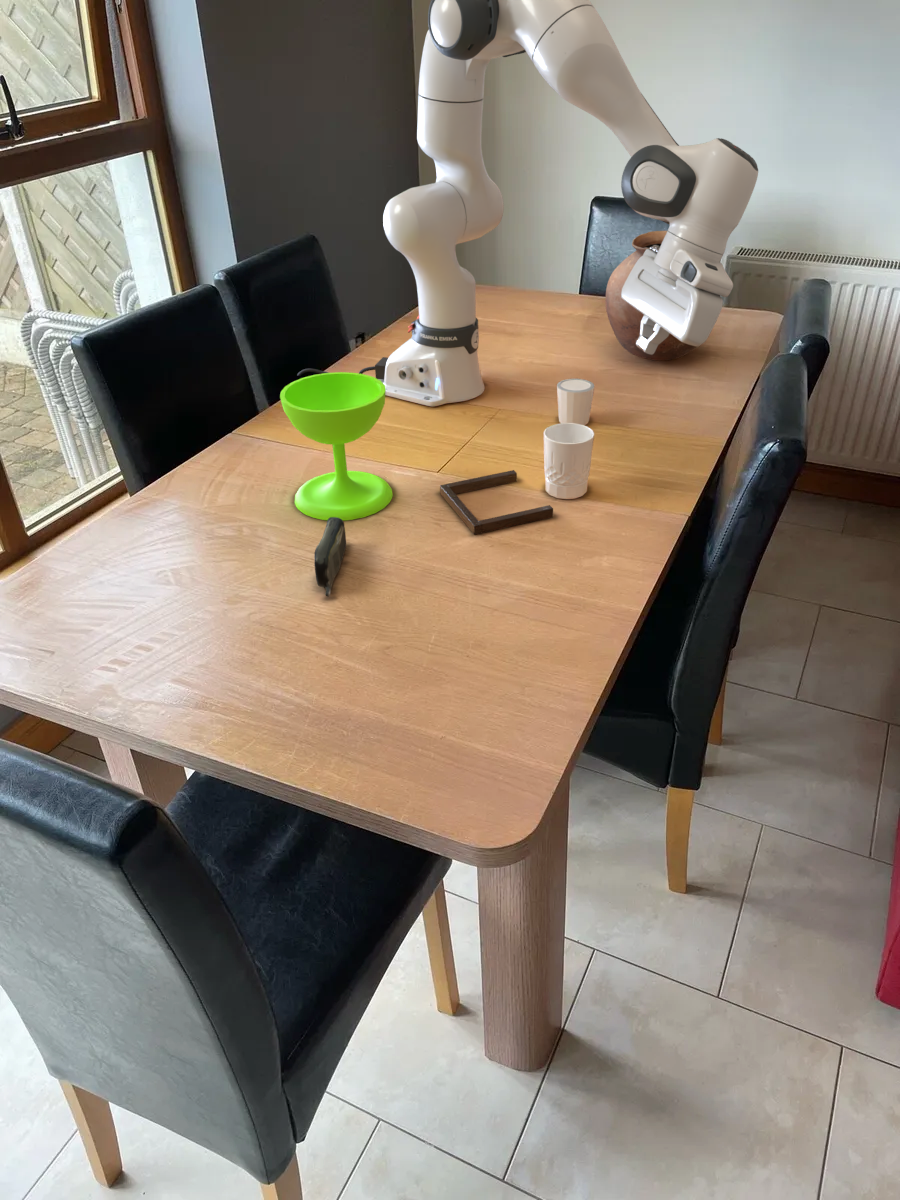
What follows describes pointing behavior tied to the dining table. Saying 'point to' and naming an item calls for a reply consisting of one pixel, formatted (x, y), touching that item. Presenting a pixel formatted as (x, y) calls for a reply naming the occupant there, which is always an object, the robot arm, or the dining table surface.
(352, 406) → the wineglass
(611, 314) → the pottery
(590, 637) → the dining table surface
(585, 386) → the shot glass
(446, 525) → the dining table surface
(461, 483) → the walnut frame
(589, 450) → the white cup
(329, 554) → the mobile phone
